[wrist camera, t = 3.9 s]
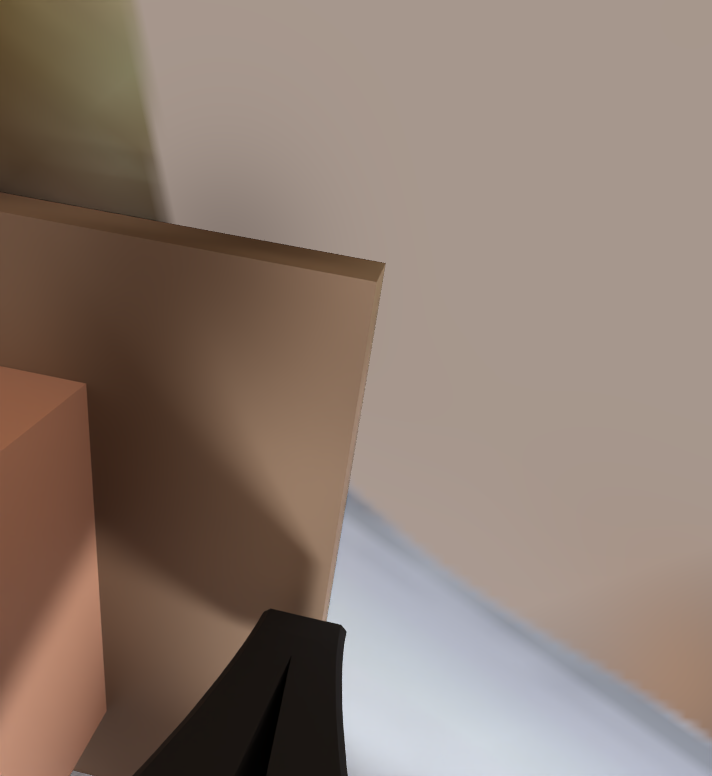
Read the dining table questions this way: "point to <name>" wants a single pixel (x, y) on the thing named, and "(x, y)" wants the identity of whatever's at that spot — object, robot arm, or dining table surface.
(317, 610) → the board
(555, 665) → the dining table surface
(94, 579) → the t block
